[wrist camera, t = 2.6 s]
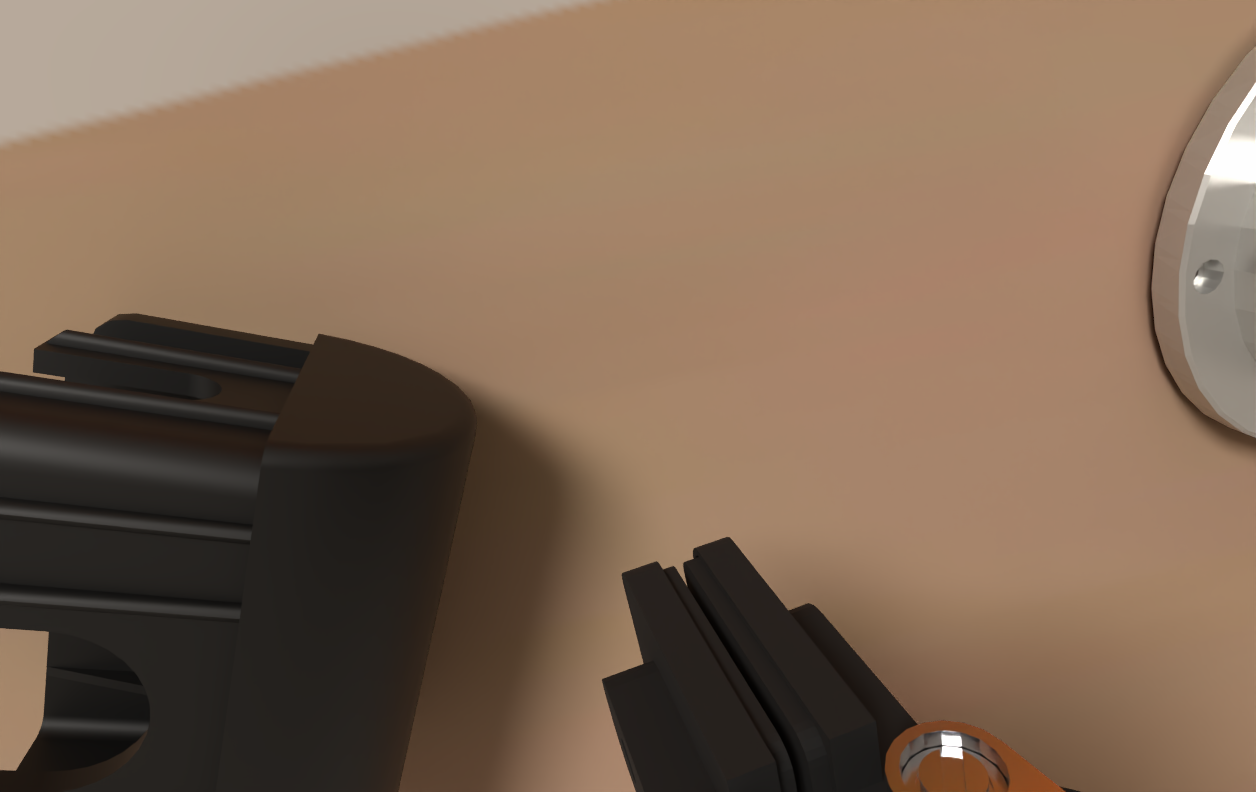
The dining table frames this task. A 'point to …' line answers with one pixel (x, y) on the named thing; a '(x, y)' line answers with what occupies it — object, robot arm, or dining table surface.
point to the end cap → (226, 555)
